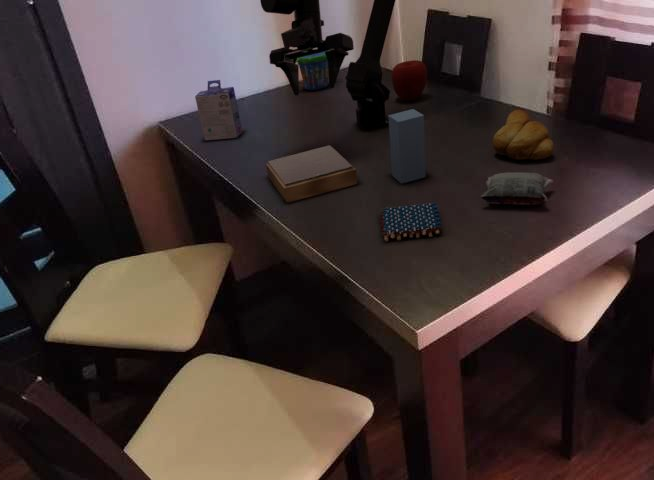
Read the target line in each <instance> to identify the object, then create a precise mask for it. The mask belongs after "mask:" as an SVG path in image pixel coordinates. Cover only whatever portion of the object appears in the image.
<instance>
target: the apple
mask: <svg viewBox="0 0 654 480" xmlns="http://www.w3.org/2000/svg"><path fill="white" fill-rule="evenodd" d="M390 78H391V84H392V87H393V90H394V92H395V95H397V97H398V98H399V99H401V101H405V102H409V101H415V100H417V99H418V98H419V97H420V96H421V95H422V93H423V92H424V90H425V88H426V86H427V85H426V84H427V79H428V69H427V66H426V64H425V63H424V62H423V61H421V60H419V59H417V60H406V61H402V62H399V63H397V64H395V66H394V67H393V68H392V70H391V74H390Z"/></svg>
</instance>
